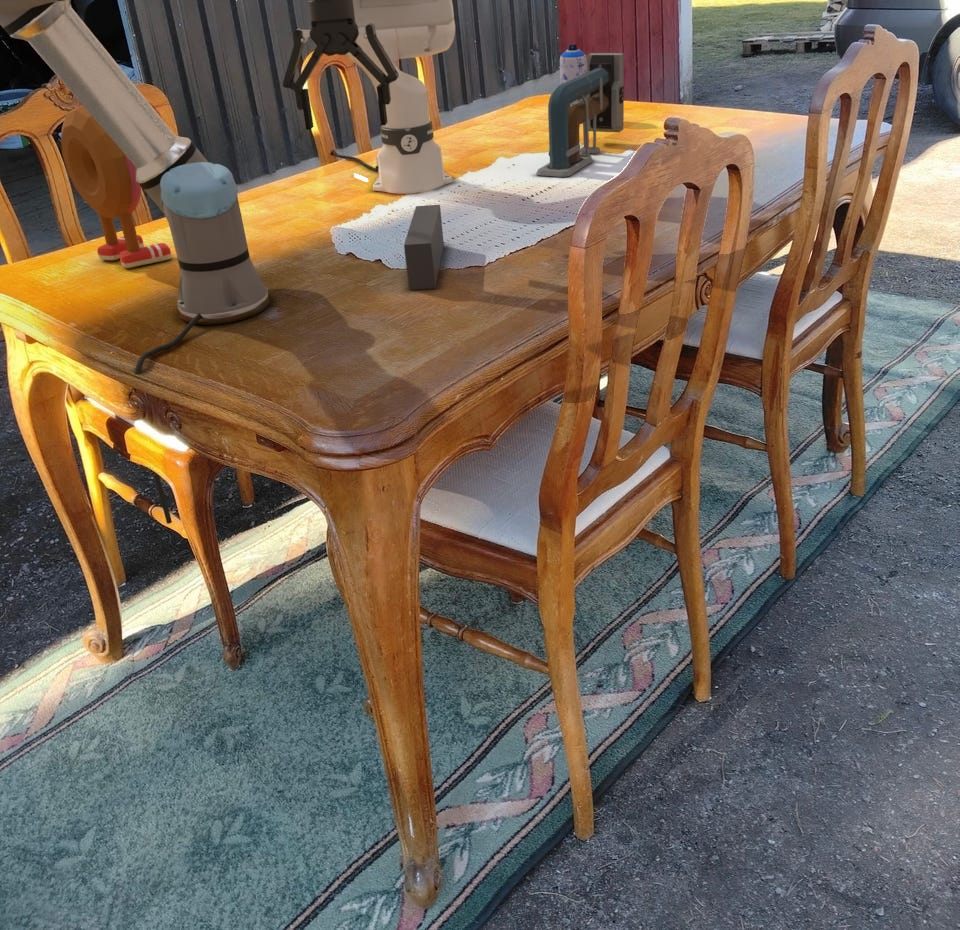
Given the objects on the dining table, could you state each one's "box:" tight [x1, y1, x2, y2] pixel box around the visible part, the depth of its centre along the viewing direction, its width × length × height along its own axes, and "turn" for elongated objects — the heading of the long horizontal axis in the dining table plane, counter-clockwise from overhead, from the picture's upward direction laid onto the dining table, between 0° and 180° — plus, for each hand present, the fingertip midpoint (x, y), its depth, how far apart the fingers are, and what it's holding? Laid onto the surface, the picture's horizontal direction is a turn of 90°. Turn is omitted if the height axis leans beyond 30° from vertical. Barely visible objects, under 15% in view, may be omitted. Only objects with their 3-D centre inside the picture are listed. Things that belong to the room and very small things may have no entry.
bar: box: [403, 204, 445, 291], centre depth 175 cm, size 23×5×8 cm, turn 178°
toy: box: [60, 104, 172, 269], centre depth 187 cm, size 21×10×30 cm, turn 47°
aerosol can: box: [559, 43, 587, 107], centre depth 273 cm, size 8×8×20 cm
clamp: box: [535, 52, 625, 178], centre depth 233 cm, size 35×9×21 cm, turn 151°
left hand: (347, 126), depth 173 cm, fingers open, 13 cm apart
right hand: (404, 53), depth 186 cm, fingers open, 8 cm apart
